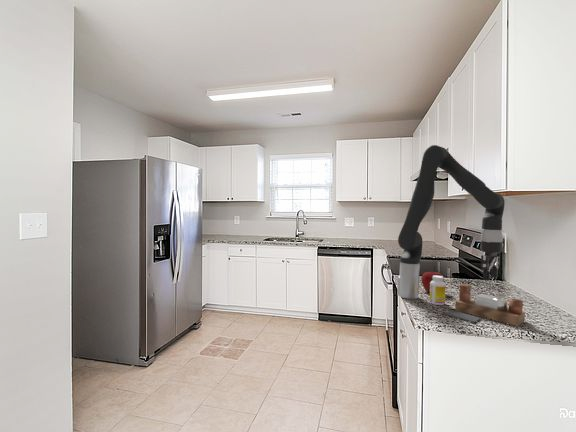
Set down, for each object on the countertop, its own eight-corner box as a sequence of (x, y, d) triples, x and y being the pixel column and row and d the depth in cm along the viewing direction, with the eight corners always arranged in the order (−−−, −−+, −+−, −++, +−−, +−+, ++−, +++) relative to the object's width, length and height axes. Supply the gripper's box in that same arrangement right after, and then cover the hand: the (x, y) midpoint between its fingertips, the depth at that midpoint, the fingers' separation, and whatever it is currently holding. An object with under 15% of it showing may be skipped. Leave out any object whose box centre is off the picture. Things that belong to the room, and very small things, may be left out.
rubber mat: (443, 314, 133) (443, 313, 133) (450, 311, 138) (450, 309, 137) (474, 323, 124) (474, 321, 124) (481, 319, 128) (481, 317, 128)
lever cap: (475, 304, 134) (476, 295, 134) (480, 302, 137) (481, 293, 137) (504, 311, 126) (505, 301, 126) (509, 309, 129) (509, 299, 129)
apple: (439, 290, 172) (439, 269, 172) (446, 295, 162) (447, 273, 161) (418, 289, 173) (418, 268, 173) (424, 294, 163) (425, 272, 162)
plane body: (455, 310, 139) (456, 285, 139) (463, 306, 145) (464, 282, 144) (517, 326, 121) (519, 298, 120) (525, 321, 127) (526, 294, 126)
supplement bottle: (448, 304, 147) (449, 277, 147) (439, 306, 144) (440, 278, 143) (435, 300, 153) (436, 274, 152) (426, 302, 150) (427, 275, 149)
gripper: (487, 238, 139) (486, 275, 140) (474, 240, 130) (473, 279, 131) (507, 240, 133) (506, 278, 134) (495, 242, 124) (493, 283, 125)
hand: (490, 278), depth 132 cm, fingers open, 8 cm apart
